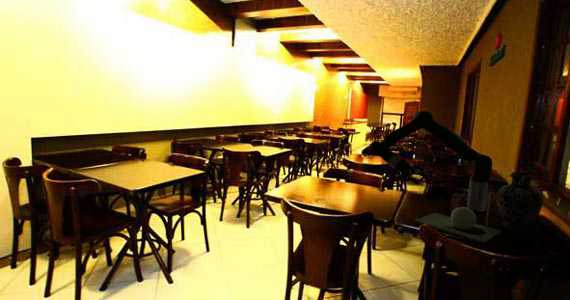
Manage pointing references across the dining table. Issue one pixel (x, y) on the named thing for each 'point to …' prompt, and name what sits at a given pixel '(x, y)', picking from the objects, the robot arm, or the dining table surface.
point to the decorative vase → (519, 202)
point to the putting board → (446, 225)
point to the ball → (463, 218)
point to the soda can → (458, 201)
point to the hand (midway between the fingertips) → (422, 180)
